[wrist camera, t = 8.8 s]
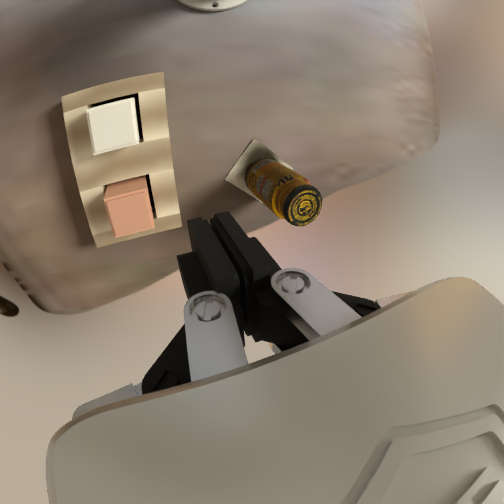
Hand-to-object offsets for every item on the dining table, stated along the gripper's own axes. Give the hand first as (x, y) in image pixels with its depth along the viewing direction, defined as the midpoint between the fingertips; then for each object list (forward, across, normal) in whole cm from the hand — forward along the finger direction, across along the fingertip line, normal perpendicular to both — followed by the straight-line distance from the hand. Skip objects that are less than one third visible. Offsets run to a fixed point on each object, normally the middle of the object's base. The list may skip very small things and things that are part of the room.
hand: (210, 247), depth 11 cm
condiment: (+27, -14, +7) cm, 32 cm away
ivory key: (+26, +5, -4) cm, 26 cm away
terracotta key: (+26, +5, +6) cm, 27 cm away
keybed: (+27, +5, +1) cm, 28 cm away
